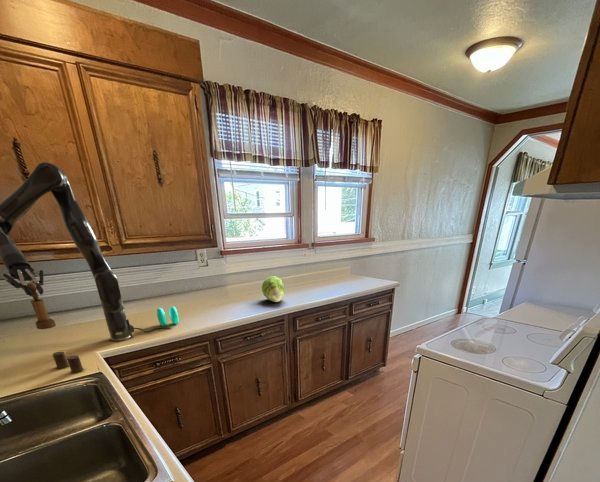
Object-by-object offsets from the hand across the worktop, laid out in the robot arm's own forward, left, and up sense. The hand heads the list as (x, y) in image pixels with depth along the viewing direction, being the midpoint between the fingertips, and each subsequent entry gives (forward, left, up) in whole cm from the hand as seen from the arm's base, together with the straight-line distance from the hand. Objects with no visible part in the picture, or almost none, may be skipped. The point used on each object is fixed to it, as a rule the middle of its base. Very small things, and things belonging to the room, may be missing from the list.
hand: (36, 293), depth 129 cm
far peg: (-2, +20, -28) cm, 34 cm away
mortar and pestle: (0, -2, -14) cm, 14 cm away
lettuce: (-139, -17, -28) cm, 143 cm away
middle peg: (+1, +11, -28) cm, 30 cm away
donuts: (-57, -15, -28) cm, 65 cm away
